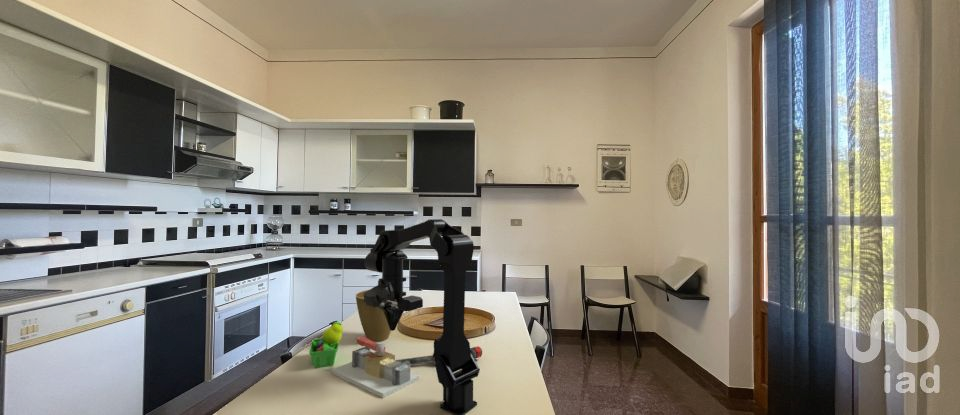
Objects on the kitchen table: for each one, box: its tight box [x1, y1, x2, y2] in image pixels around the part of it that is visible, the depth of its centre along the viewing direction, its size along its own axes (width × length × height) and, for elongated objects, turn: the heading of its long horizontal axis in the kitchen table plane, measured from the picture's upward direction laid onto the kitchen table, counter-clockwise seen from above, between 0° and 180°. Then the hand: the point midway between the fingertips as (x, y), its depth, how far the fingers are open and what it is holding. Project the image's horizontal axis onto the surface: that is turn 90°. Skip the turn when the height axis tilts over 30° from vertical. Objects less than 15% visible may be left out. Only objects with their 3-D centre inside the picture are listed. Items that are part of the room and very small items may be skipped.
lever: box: [355, 336, 386, 356], centre depth 102 cm, size 11×2×2 cm, turn 50°
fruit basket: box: [308, 321, 344, 369], centre depth 109 cm, size 11×9×11 cm
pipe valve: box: [351, 346, 411, 385], centre depth 99 cm, size 20×5×5 cm, turn 54°
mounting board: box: [331, 361, 420, 399], centre depth 99 cm, size 22×12×1 cm, turn 54°
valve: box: [395, 345, 483, 365], centre depth 110 cm, size 6×26×15 cm
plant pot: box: [355, 289, 392, 343], centre depth 128 cm, size 15×15×16 cm
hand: (392, 330), depth 102 cm, fingers closed
